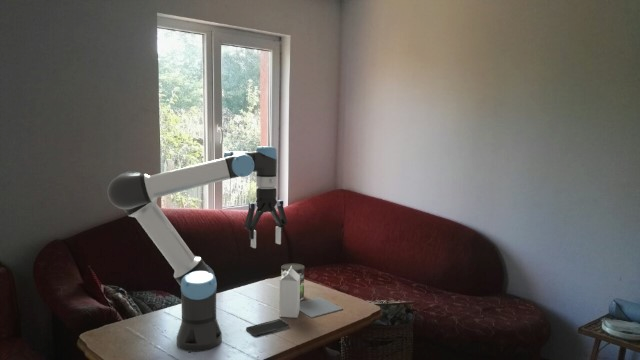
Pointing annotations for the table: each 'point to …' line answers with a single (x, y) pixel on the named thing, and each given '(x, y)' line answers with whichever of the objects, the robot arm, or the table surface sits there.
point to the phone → (267, 327)
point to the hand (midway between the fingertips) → (266, 245)
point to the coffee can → (300, 271)
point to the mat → (317, 307)
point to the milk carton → (289, 294)
